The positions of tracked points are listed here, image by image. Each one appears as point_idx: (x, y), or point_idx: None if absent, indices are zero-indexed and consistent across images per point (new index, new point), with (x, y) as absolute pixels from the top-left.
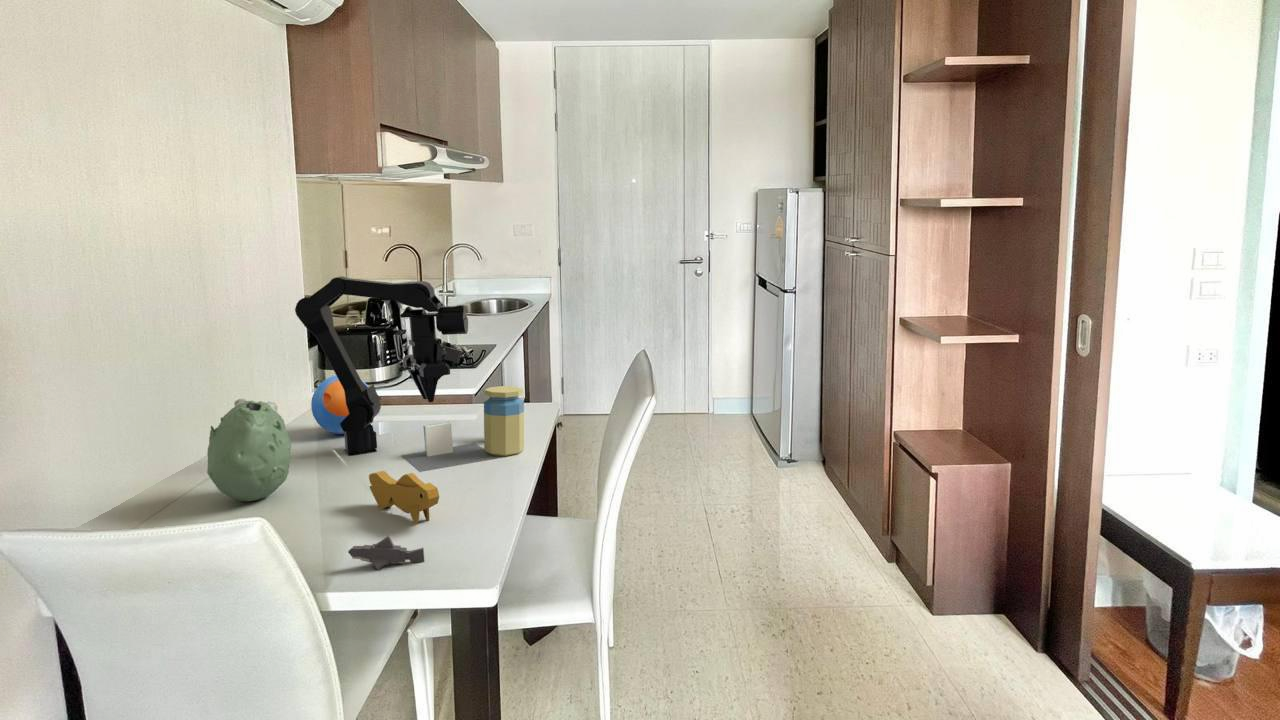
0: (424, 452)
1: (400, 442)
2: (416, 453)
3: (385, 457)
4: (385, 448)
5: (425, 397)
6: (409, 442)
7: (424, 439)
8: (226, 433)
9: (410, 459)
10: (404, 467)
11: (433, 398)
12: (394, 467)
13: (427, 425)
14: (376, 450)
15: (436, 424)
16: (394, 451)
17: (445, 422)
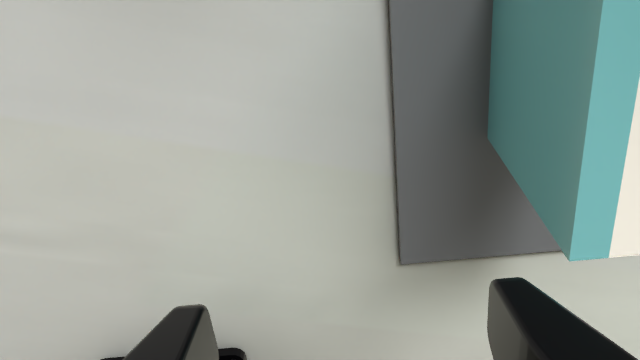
0: (425, 134)
1: (32, 213)
2: (417, 182)
3: (357, 321)
4: (154, 300)
5: (211, 357)
6: (53, 165)
7: (523, 190)
8: None
9: (533, 232)
10: (629, 269)
11: (560, 313)
12: (589, 308)
13: (596, 229)
14: (236, 357)
15: (630, 147)
16: (249, 269)
17: (614, 37)
